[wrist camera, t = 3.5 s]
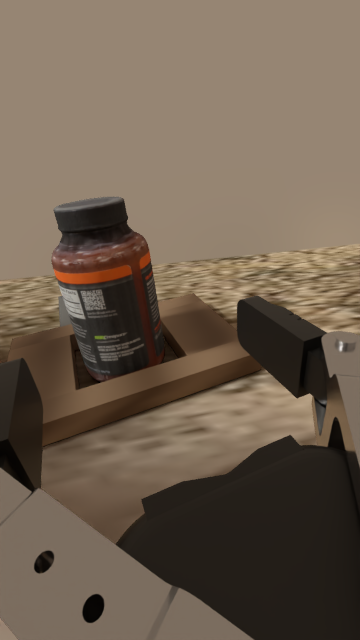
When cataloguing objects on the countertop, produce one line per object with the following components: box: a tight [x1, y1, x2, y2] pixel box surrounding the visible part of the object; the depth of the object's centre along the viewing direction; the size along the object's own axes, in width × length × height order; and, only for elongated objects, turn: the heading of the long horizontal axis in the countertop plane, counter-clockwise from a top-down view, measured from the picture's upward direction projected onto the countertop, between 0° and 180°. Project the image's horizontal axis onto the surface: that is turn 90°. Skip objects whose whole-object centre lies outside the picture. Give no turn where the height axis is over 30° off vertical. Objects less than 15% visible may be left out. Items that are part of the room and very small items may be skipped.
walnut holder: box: [7, 293, 261, 446], centre depth 22 cm, size 16×11×2 cm
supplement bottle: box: [52, 197, 165, 382], centre depth 20 cm, size 6×6×11 cm
